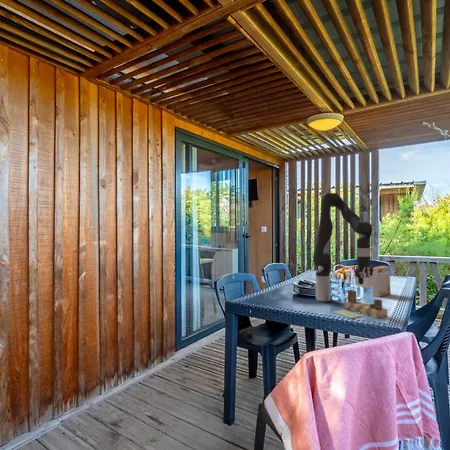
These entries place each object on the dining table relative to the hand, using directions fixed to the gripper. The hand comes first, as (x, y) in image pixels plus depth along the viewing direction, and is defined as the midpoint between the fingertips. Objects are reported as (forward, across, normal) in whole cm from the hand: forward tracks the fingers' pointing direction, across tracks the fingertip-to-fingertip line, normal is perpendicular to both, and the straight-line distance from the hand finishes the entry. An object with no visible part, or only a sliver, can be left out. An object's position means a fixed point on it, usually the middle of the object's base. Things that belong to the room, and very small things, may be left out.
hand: (364, 283), depth 188 cm
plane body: (+17, 0, 0) cm, 17 cm away
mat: (+17, +12, -1) cm, 21 cm away
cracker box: (+18, -44, -25) cm, 53 cm away
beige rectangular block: (+2, 0, 0) cm, 2 cm away
